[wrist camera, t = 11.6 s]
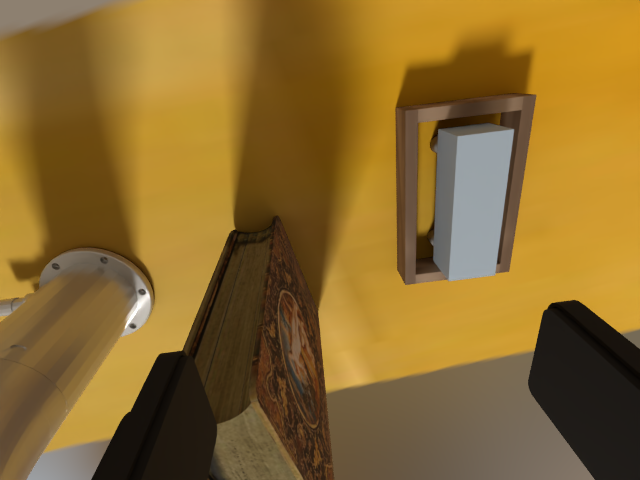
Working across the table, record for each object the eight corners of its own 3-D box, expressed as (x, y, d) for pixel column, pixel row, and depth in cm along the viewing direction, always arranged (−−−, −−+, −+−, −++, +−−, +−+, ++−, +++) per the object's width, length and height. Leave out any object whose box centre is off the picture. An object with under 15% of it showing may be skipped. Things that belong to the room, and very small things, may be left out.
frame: (397, 269, 44) (405, 284, 41) (395, 107, 35) (405, 110, 32) (493, 257, 44) (509, 271, 41) (514, 93, 35) (536, 94, 32)
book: (321, 319, 46) (345, 549, 24) (282, 330, 47) (271, 568, 24) (277, 211, 39) (253, 393, 17) (232, 226, 40) (150, 423, 17)
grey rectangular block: (438, 129, 34) (457, 136, 30) (488, 122, 34) (514, 129, 30) (433, 260, 40) (448, 281, 36) (475, 255, 41) (495, 275, 37)
